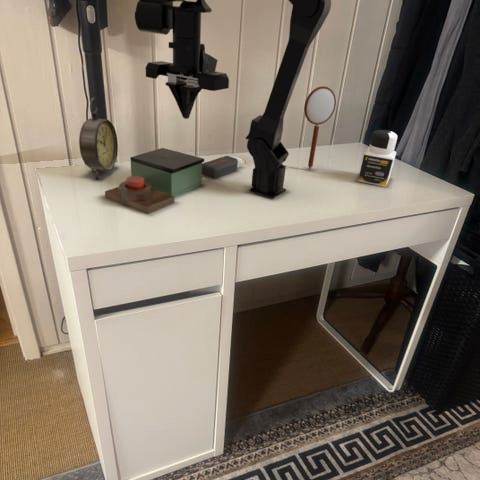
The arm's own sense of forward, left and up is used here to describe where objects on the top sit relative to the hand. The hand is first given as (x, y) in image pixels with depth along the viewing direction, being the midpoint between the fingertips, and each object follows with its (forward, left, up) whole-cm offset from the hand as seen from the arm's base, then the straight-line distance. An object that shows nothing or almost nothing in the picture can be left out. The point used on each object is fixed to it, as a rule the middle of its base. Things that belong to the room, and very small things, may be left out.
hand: (186, 118), depth 104 cm
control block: (-3, +19, -13) cm, 23 cm away
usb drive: (-4, -9, -13) cm, 17 cm away
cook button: (-3, +20, -10) cm, 23 cm away
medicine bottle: (-36, -32, -13) cm, 50 cm away
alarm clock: (+15, +13, -13) cm, 24 cm away
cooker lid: (-1, +8, -8) cm, 11 cm away
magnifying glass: (-20, -27, -13) cm, 36 cm away
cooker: (-1, +8, -13) cm, 15 cm away
